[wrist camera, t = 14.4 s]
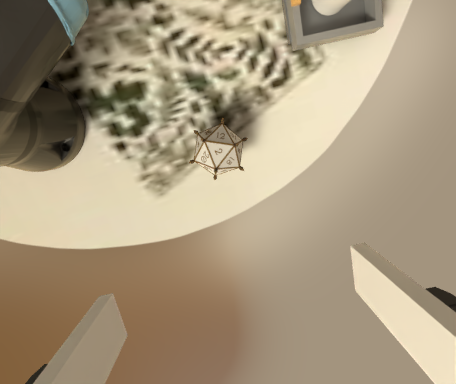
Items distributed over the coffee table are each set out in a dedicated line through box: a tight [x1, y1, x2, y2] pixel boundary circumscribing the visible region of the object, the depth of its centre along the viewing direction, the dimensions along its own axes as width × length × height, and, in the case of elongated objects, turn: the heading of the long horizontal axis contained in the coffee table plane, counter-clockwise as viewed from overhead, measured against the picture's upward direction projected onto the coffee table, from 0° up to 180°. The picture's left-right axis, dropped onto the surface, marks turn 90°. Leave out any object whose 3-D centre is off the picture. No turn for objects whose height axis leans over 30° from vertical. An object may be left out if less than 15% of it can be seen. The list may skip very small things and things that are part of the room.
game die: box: [189, 118, 248, 180], centre depth 40 cm, size 9×8×10 cm
